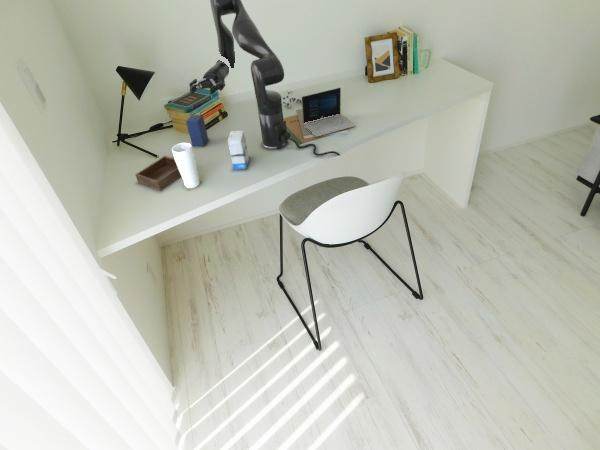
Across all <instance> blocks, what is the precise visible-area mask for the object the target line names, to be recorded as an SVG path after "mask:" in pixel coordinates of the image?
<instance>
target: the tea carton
mask: <svg viewBox="0 0 600 450" xmlns="http://www.w3.org/2000/svg"><path fill="white" fill-rule="evenodd" d="M185 123H186V127H187V130H188V131H187V132H188V134H189V138H190V142H191V145H192V147H205V146H206V144H207V143H208V142H209V135H208V131H207V127H206V123H205V119H204V115H201V114H191V115H190V116H189V117H188V118H187V119H186V121H185Z"/></svg>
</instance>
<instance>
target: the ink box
mask: <svg viewBox="0 0 600 450" xmlns="http://www.w3.org/2000/svg"><path fill="white" fill-rule="evenodd" d="M227 145H228V149H229V153H230V157H231V162H232V167H233V170H235V171H237V170H246V169H247V167H248V164H249V161H250V154H249V150H248V145H247V141H246V135H245V130H231V131H230V133H229V135H228V138H227Z"/></svg>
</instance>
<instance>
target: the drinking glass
mask: <svg viewBox="0 0 600 450" xmlns="http://www.w3.org/2000/svg"><path fill="white" fill-rule="evenodd" d="M171 153H172V156H173V158H174V159H175V162H176V165H177V167H178V169H179V172H180V174H181V177H180V178H181V179H182V182H183V184H184V187H185V188H187V189H194V188H197V187H199V186H200V184H201V182H200V177H199V172H198V166H197V161H196V156H195V151H194V148H193V146H192V143H189V142H179V143H176V144H175V145H173V146H172V147H171Z"/></svg>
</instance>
